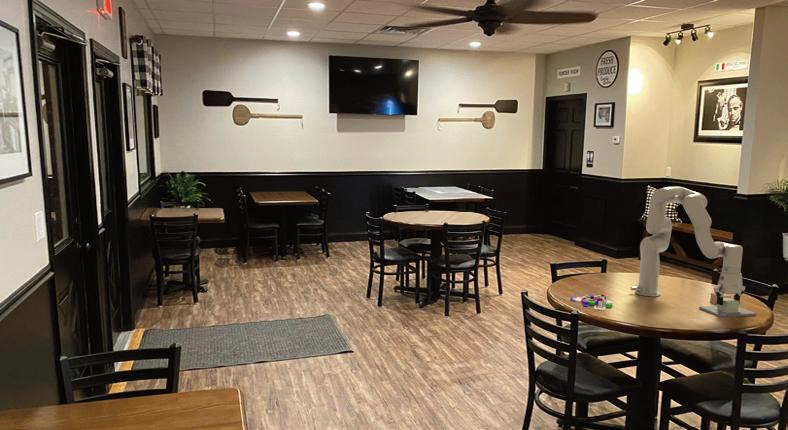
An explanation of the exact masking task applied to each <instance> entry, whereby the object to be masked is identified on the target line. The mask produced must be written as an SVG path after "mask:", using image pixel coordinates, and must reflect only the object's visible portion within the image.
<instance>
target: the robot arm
mask: <svg viewBox="0 0 788 430" xmlns="http://www.w3.org/2000/svg"><path fill="white" fill-rule="evenodd" d="M649 200H650V201H649V208H648V213H647V218H646V224H645V229H646V231H647V233H648V234H650V236H646V237H645V238H643V239H642V240H641V241H640V244H639V251H640V262H639V264H640V265H639V276H638V284H636V286H631V287H630V291H634V293H635V294H636V295H637V294H638V295H640V296H645V297H653V298H654V297H660V296H661V291H658V290H659V289H658V288H659V287H658V286H659V277H660V265H661V264H660V263H661V262H660V261H661V260H660V254H661V253H663V252H665V251H667V250H668V248H669V245H670V241H671V234H672V230H673V224H672V220H671V218H669V217H668V216H666V214H667V205H668V204H675V203H678V204H681V205H682V206H683V208H684V210H685V212H686V214H687V216H688V218H689V220H690V221H691V224H692V226H693V228H694V229H693V230H694V235H695V240H696V243H697V245H698V247H699V249H700V251H701V252H702V254H703V256H705V257H706V258H708V259H717V258H722V257H723V262H722V263H723V264H722V267H721V273H720V276H719V280H718V285H716V286H715V287H713V291H714V292H713V293H715V294H716V296H717V304H719V305H723V295H724V294H727V295H733V299H734V300H737V301H739V305H740V303H741V297H742V296H743V294H744V293H745V292H744V291H745V290H746V286H744V285H743V274H742V273H741V269H742V260H743V251H744V249H743V246H742V245H739V244H733V243H726V242H723V241H715V240H714V238H713V237H712V233H711V227H712V222H713V221H712V218H711V217H710V214H709V213H708V211H707V209H706V207H707V206H708V199H707V197H706V196H705V195H704V194H702V193H700V192H696V191H693V190H691V189H688V188H685V187H682V186H667V187H662V188H659V189H657V190H656V191H653V193H652V194H651V197H650V199H649ZM720 293H721V294H720ZM717 304H716V305H717Z"/></svg>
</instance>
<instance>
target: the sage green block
mask: <svg viewBox="0 0 788 430" xmlns="http://www.w3.org/2000/svg"><path fill="white" fill-rule="evenodd" d="M716 306H717V308H718V309H721V310H723V311H726V312H735V311H738V307H740V304H739V301H737V300H734V298H732V297H731V298H723V305H719V304H716Z"/></svg>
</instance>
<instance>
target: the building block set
mask: <svg viewBox="0 0 788 430" xmlns="http://www.w3.org/2000/svg"><path fill="white" fill-rule="evenodd" d="M569 301H571V302H574V303H575V302H578V303H582V306H583V307H584V308H585V307H586V308H588V307H589V306H592V305H594V307H593V311H595V310H596V311H606V307H608V308H609V309H613V304H614V303H613V301H612V300H607V296H606V295H605V294H598V295H593V294H591V293H588V294H585V295H584V296H582V297H579V296H578V297H577V296H571V297H570V300H569Z"/></svg>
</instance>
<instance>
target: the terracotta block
mask: <svg viewBox="0 0 788 430" xmlns="http://www.w3.org/2000/svg"><path fill="white" fill-rule="evenodd" d="M720 294H721V293H720ZM723 298H731V299H732V295H731V294H724V295H723ZM709 303H712V304H715V305H717V296H716V294H715V292H711V293H710V299H709Z"/></svg>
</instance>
